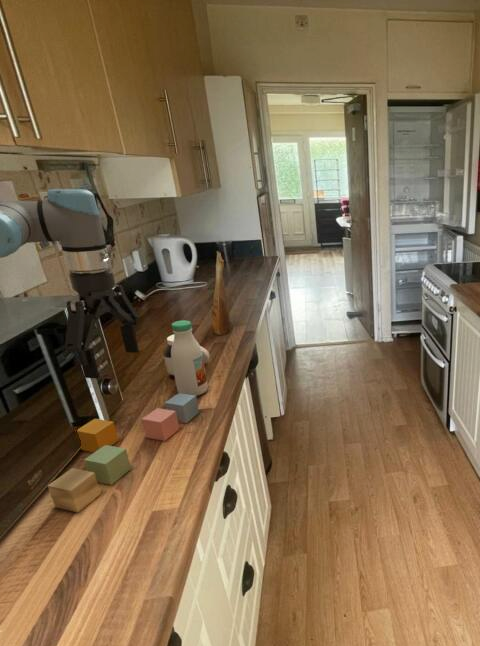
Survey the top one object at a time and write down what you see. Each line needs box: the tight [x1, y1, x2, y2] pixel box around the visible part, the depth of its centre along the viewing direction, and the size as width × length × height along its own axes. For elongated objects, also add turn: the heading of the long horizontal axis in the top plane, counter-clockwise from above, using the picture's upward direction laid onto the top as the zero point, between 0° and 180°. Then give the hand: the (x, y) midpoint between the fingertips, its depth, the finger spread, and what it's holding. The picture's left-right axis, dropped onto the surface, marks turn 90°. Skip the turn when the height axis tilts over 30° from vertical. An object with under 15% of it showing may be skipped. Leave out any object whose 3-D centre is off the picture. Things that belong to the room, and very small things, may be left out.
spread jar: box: [163, 334, 211, 378], centre depth 127 cm, size 12×11×12 cm
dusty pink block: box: [141, 407, 180, 442], centre depth 98 cm, size 5×5×5 cm
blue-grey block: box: [164, 392, 200, 424], centre depth 105 cm, size 5×5×5 cm
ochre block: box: [76, 418, 120, 453], centre depth 94 cm, size 5×5×5 cm
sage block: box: [83, 445, 132, 486], centre depth 85 cm, size 5×5×5 cm
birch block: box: [47, 467, 102, 513], centre depth 78 cm, size 5×5×5 cm
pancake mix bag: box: [212, 250, 230, 336], centre depth 158 cm, size 7×19×28 cm, turn 16°
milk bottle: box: [171, 319, 209, 397], centre depth 114 cm, size 8×8×20 cm
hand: (113, 364), depth 96 cm, fingers open, 13 cm apart
